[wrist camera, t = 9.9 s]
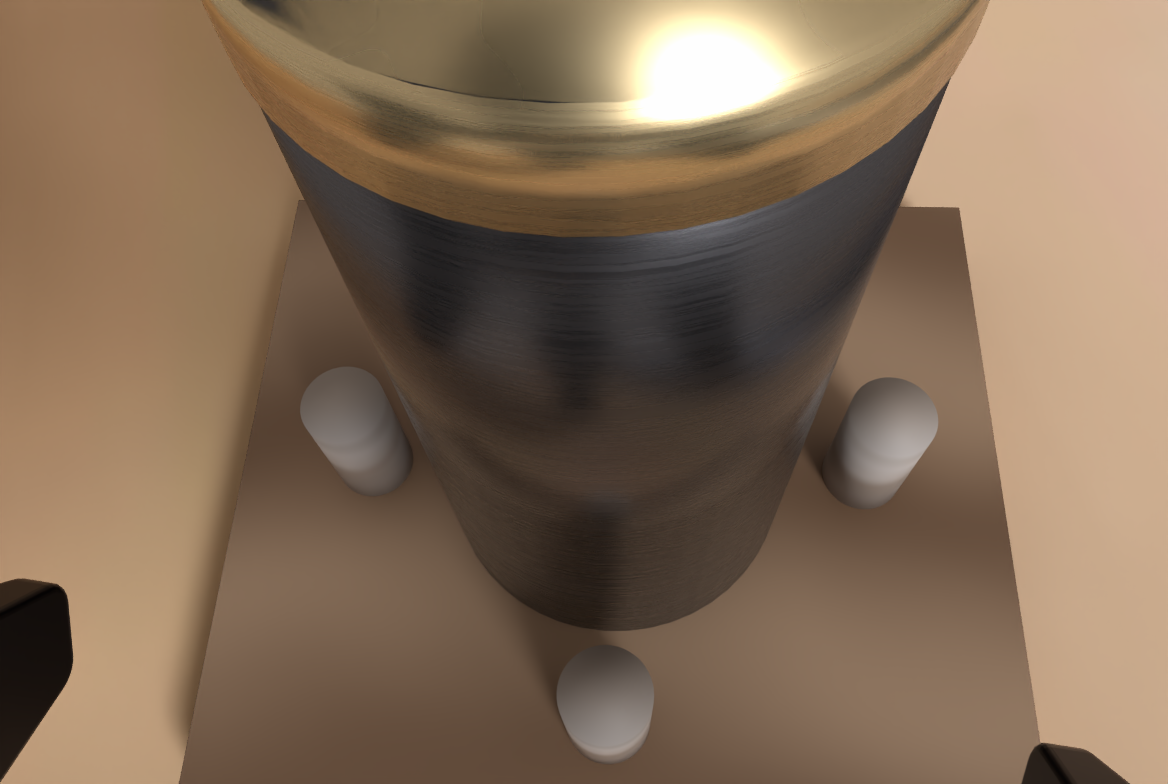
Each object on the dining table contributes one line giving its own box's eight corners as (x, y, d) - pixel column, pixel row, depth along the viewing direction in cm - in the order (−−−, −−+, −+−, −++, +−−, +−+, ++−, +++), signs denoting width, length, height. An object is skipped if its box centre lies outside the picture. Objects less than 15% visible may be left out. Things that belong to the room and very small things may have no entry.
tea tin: (835, 569, 17) (1252, -53, 6) (501, 682, 17) (214, 239, 5) (710, 289, 20) (822, -528, 8) (417, 378, 19) (99, -373, 8)
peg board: (1026, 839, 17) (1127, 829, 13) (203, 803, 17) (103, 785, 14) (942, 240, 22) (999, 125, 18) (314, 232, 23) (260, 120, 19)
